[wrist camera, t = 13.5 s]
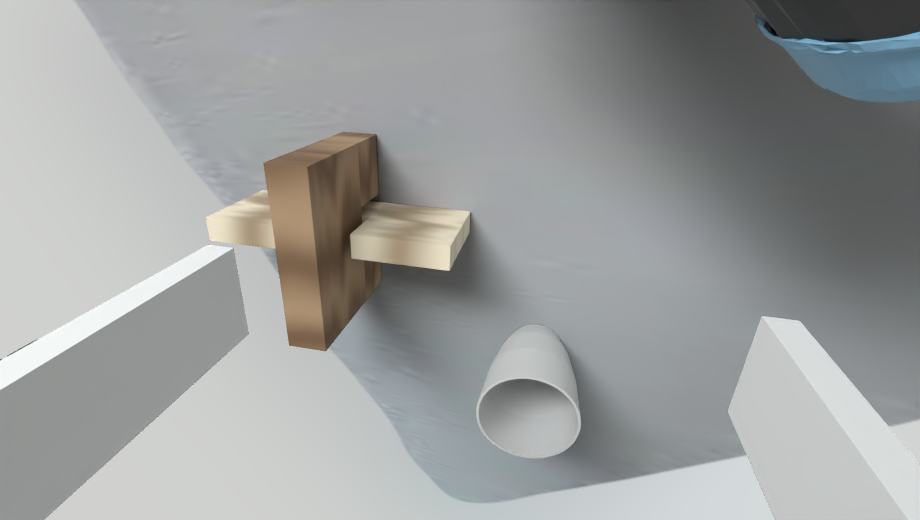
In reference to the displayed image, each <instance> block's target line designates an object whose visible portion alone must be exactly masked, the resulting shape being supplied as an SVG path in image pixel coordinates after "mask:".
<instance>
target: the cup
mask: <svg viewBox="0 0 920 520" xmlns="http://www.w3.org/2000/svg"><path fill="white" fill-rule="evenodd" d="M476 417H477V422H478V425H479V427H480V429H481V431H482V432H483V434H484V435H485V436H486V438H487V439H488V440H489V441H490V442H491V443H493V444H494V445H495V446H497V447H498V448H500V449H501V450H503V451H505V452H507V453H510V454H512V455H515V456H519V457H524V458H546V457H551V456H554V455H557V454H559V453H561V452H563V451H565V450H566V449H567V448H569V447H570V446H571V445H572V444H573V443H574V442H575V440H576V439H577V437H578V435H579V432H580V428H581V417H580V409H579V400H578V392H577V384H576V379H575V376H574V373H573V369H572V366H571V362H570V359H569V356H568V353H567V351H566V349H565V348H564V346H563V344H562V343H561V341H560V339H559V337H558V336H557V335H556V334H555V333H554V332H553V331H552V330H551V329H549V328H547V327H545V326H542V325H536V324H531V325H525V326H522V327H520V328H519V329H517V330H516V331H515V332H514V333H513V334H512V335H511V336H510V337H509V338H508V339H507V340H506V341H505V342H504V344H503V345H502V347H501V348H500V350H499V352H498V354H497V356H496V358H495V359H494V361H493V363H492V365H491V367H490V369H489V371H488V374H487V377H486V380H485V383H484V386H483V388H482V391H481V394H480V397H479V400H478V403H477V407H476Z"/></svg>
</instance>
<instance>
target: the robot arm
mask: <svg viewBox="0 0 920 520" xmlns="http://www.w3.org/2000/svg"><path fill="white" fill-rule="evenodd" d="M746 1H747V2H748V4H749V5H750V6H751V8H752V9H753V10H754V11H755V13H756V18H755V21H756V23H757V25H758V27H759V28H760V30H761V31H762V32H763V34H764V35H765V36H766V37H767V38H769V39H770V40H772V41H774V42H775V43H777V44H779V45H780V46H782V47H783V48H784V49H785V50H786V51H787V52H788V54H789V55H790V56H791V57H792V58H793V59H794V61H795V62H796V63H797V64H798V65H799V66H800V67H801V69H802V70H803V71H804V72H805V73H806V74H807V76H808V77H809V78H810V79H811V80H812V81H813V82H814V83H816V84H817V85H818V86H820V87H821V88H823V89H825V90H827V91H831V92H835V93H837V94H839V95H841V96H843V97H849V98H851V99H854V100H858V101H867V102H909V101H920V0H746ZM248 334H249V332H248V327H247V321H246V316H245V311H244V304H243V299H242V293H241V288H240V282H239V276H238V271H237V265H236V260H235V254H234V249H233V248H229V247H220V246H213V245H207V246H205V247H204V248H202V249H200V250H198V251H196V252H194V253H193V254H191V255H189V256H187V257H185V258H184V259H182V260H180V261H178V262H177V263H175V264H173V265H171V266H169V267H168V268H166V269H164V270H162V271H160V272H159V273H157V274H155V275H153V276H151V277H150V278H148V279H146V280H144V281H142V282H141V283H139V284H137V285H135V286H133V287H132V288H130V289H128V290H126V291H124V292H123V293H121V294H119V295H117V296H115V297H114V298H112V299H110V300H108V301H106V302H105V303H103V304H101V305H99V306H97V307H96V308H94V309H92V310H91V311H89V312H87V313H85V314H83V315H81V316H80V317H78V318H76V319H74V320H72V321H71V322H69V323H67V324H65V325H63V326H62V327H60V328H58V329H56V330H55V331H53V332H51V333H49V334H47V335H46V336H44V337H42V338H40V339H37V340H35V341H33V342H31V343H29V344H27V345H26V346H24V347H22V348H20V349H18V350H17V351H15V352H13V353H11V354H10V355H8V356H7V357H6V358H4V359H0V520H44V519H45V518H46V517H48V516H49V515H50V514H51V513H52V512H53V511H54V510H55V509H56V508H57V507H59V506H60V505H61V504H62V503H63V502H64V501H65V500H66V499H67V498H68V497H70V496H71V495H72V494H73V493H74V492H75V491H76V490H77V489H78V488H80V486H82V485H83V484H84V483H85V482H86V481H87V480H88V479H89V478H91V477H92V476H93V475H94V474H95V473H96V472H97V471H98V470H99V469H101V468H102V467H103V466H104V465H105V464H106V463H107V462H108V461H109V460H110V459H111V458H113V457H114V456H115V455H116V454H117V453H118V452H119V451H120V450H121V449H122V448H124V447H125V446H126V445H127V444H128V443H129V442H130V441H131V440H132V439H134V438H135V437H136V436H137V435H138V434H139V433H140V432H141V431H142V430H144V429H145V427H147V426H148V425H149V424H150V423H151V422H152V421H153V420H155V418H157V417H158V416H159V415H160V414H161V413H162V412H163V411H164V410H165V409H167V408H168V407H169V406H170V405H171V404H172V403H173V402H174V401H175V400H176V399H178V398H179V397H180V396H181V395H182V394H183V393H184V392H185V391H186V390H188V389H189V388H190V387H191V386H192V385H193V384H194V383H195V382H196V381H198V380H199V379H200V378H201V377H202V376H203V375H204V374H205V373H206V372H207V371H208V370H210V369H211V368H212V367H213V366H214V365H215V364H216V363H217V362H218V361H220V360H221V359H222V358H223V357H224V356H225V355H226V354H227V353H228V352H229V351H230V350H232V349H233V348H234V347H235V346H236V345H237V344H238V343H239V342H240V341H242V340H243V339H244V338H245V337H246V336H247V335H248ZM728 413H729V416H730V418H731V420H732V423H733V425H734V427H735V429H736V432H737V434H738V436H739V439H740V441H741V443H742V445H743V448H744V450H745V452H746V455H747V457H748V459H749V461H750V464H751V466H752V468H753V471H754V473H755V475H756V477H757V480H758V482H759V484H760V486H761V489H762V491H763V493H764V496H765V498H766V500H767V502H768V505H769V507H770V509H771V511H772V514H773V516H774V518H775V520H920V463H919V462H918V461H917V460H916V458H915V457H914V456H913V455H912V454H911V453H910V451H909V450H908V449H907V448H906V447H905V445H904V444H903V443H902V442H901V441H900V440H899V438H898V437H897V436H896V435H895V434H894V432H893V431H892V430H891V429H890V428H889V426H888V425H887V424H886V423H885V422H884V420H883V419H882V418H881V417H880V416H879V415H878V413H877V412H876V411H875V410H874V409H873V407H872V406H871V405H870V404H869V403H868V401H867V400H866V399H865V398H864V397H863V396H862V394H861V393H860V392H859V391H858V390H857V388H856V387H855V386H854V385H853V384H852V382H851V381H850V380H849V379H848V378H847V377H846V375H845V374H844V373H843V372H842V371H841V369H840V368H839V367H838V366H837V365H836V363H835V362H834V361H833V360H832V359H831V358H830V356H829V355H828V354H827V353H826V352H825V350H824V349H823V348H822V347H821V346H820V344H819V343H818V342H817V341H816V340H815V339H814V337H813V336H812V335H811V334H810V333H809V331H808V330H807V329H806V328H805V327H804V325H803V324H802V323H801V322H800V321H797V320H789V319H781V318H773V317H766V316H762V317H761V320H760V323H759V325H758V328H757V331H756V334H755V337H754V339H753V342H752V345H751V348H750V350H749V353H748V356H747V359H746V362H745V364H744V367H743V370H742V373H741V375H740V378H739V381H738V384H737V387H736V389H735V392H734V395H733V398H732V400H731V403H730V406H729V409H728Z"/></svg>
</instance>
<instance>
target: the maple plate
mask: <svg viewBox="0 0 920 520" xmlns="http://www.w3.org/2000/svg"><path fill="white" fill-rule="evenodd" d="M361 213H362V224H361V225H360V226H359V227H358V228H357V229H356V230H354V231H353V232H352V233H351V234H350V243H351V258H352V259H359V260H367V261H375V262H383V263H391V264H399V265H407V266H415V267H423V268H431V269H438V270H446V271H450V269H451V267H452V265H453V263H454V261H455V259H456V257H457V256H458V254H459V252H460V250H461V248H462V246H463V244H464V242H465V240H466V238H467V236H468V234H469V231H470V211H461V210H451V209H441V208H432V207H422V206H413V205H403V204H394V203H384V202H374V201H369V202H368V203H366V204H365V205H364V206H363V207H361ZM206 222H207V227H208V232H209V237H210V241H217V242H225V243H234V244H241V245H249V246H257V247H265V248H273V249H276V248H275V241H274V234H273V226H272V219H271V212H270V205H269V198H268V191H267V190H262V191H260V192H258V193H256V194H254V195H251V196H249V197H247V198H245V199H243V200H241V201H239V202H237V203H235V204H233V205H230V206H228V207H226V208H224V209H222V210H220V211H218V212H216V213H214V214H212V215H209V216H207V217H206Z"/></svg>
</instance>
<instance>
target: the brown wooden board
mask: <svg viewBox="0 0 920 520" xmlns="http://www.w3.org/2000/svg"><path fill="white" fill-rule="evenodd" d="M264 170H265V177H266V184H267V191H268V198H269V205H270V212H271V219H272V226H273V234H274V241H275V248H276V255H277V262H278V269H279V276H280V282H281V290H282V297H283V304H284V311H285V318H286V325H287V333H288V340H289V345H290V346H296V347H302V348H309V349H315V350H321V351H327V349H328V348H329V347H330V345H331V344H332V343H333V342H334V340H335V339H336V338H337V337H338V335H339V334H340V333H341V331H342V330H343V329H344V328H345V326H346V325H347V324H348V323H349V321H350V320H351V319H352V318H353V316H354V315H355V314H356V312H357V311H358V310H359V309H360V307H361V306H362V305H363V304H364V302H365V301H366V300H367V298H368V297H369V296H370V295H371V293H372V292H373V291H374V290H375V288H376V287H377V286H378V285H379V283H380V282H381V281H382V272H381V262H375V261H367V260H359V259H352V258H351V243H350V234H351V233H352V232H353V231H354V230H356V229H357V228H358V227H359V226H360V225H361V224H362V213H361V207H363V206H364V205H365V204H366V203H368V202H369V201H370V200H371V199H373V198H374V197H375V196H376V195H378V169H377V143H376V134H363V133H350V132H342V133H339V134H337V135H334V136H332V137H329V138H327V139H324V140H321V141H319V142H316V143H314V144H311V145H309V146H306V147H303V148H301V149H298V150H296V151H293V152H290V153H288V154H285V155H283V156H280V157H278V158H275V159H272V160H270V161H267V162H265V163H264Z"/></svg>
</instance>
